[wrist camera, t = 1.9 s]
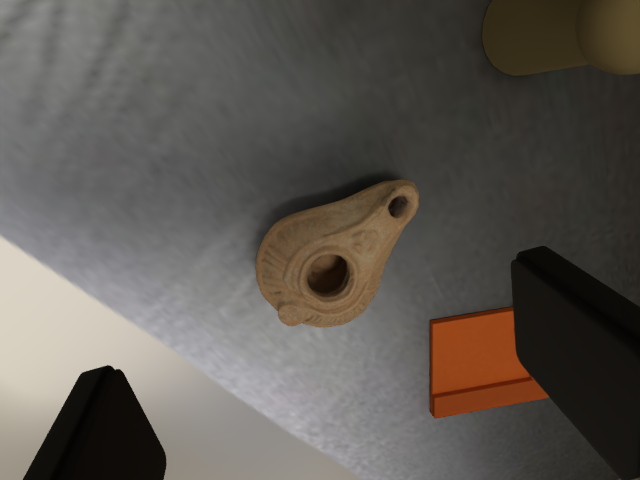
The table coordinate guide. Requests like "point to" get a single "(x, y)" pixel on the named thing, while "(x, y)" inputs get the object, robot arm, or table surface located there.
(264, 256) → the pottery oil lamp
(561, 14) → the cork
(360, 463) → the table surface
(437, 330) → the rust cloth
